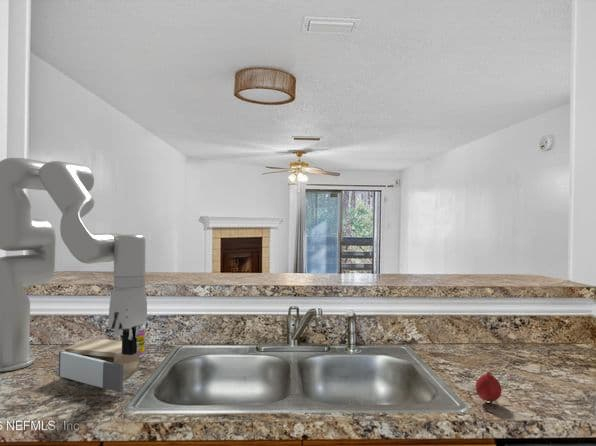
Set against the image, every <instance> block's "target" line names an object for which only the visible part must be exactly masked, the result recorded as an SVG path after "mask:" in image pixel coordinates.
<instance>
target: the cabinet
mask: <svg viewBox="0 0 596 446" xmlns="http://www.w3.org/2000/svg"><path fill="white" fill-rule="evenodd" d="M139 347H140V342H137V353H135V354H133V355H123V354H122V340H117V339H105V338H95V337H94V338H91V337H89V338H87V339H83V340H82V341H79V342H76V343H74V344H72V345H69V346H67V347H64V351H65V352H69V353H74V354H78V355H82V356H87V357H91V358H95V359H100V360H104V361H107V362H112V363H116V364H120V365H123V381H125V380H126V379H127V378H129V377H131V376H132V375H134V374H135V373H137V372H138V371H140V358H139Z"/></svg>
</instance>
